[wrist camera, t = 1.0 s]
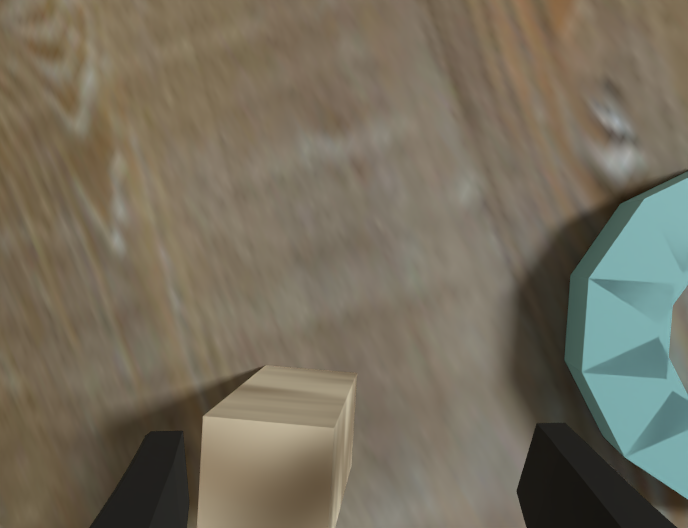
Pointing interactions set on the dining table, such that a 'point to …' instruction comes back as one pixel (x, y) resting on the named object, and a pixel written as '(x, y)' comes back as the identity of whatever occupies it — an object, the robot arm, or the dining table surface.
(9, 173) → the dining table surface
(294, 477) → the ash peg
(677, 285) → the bead ring
